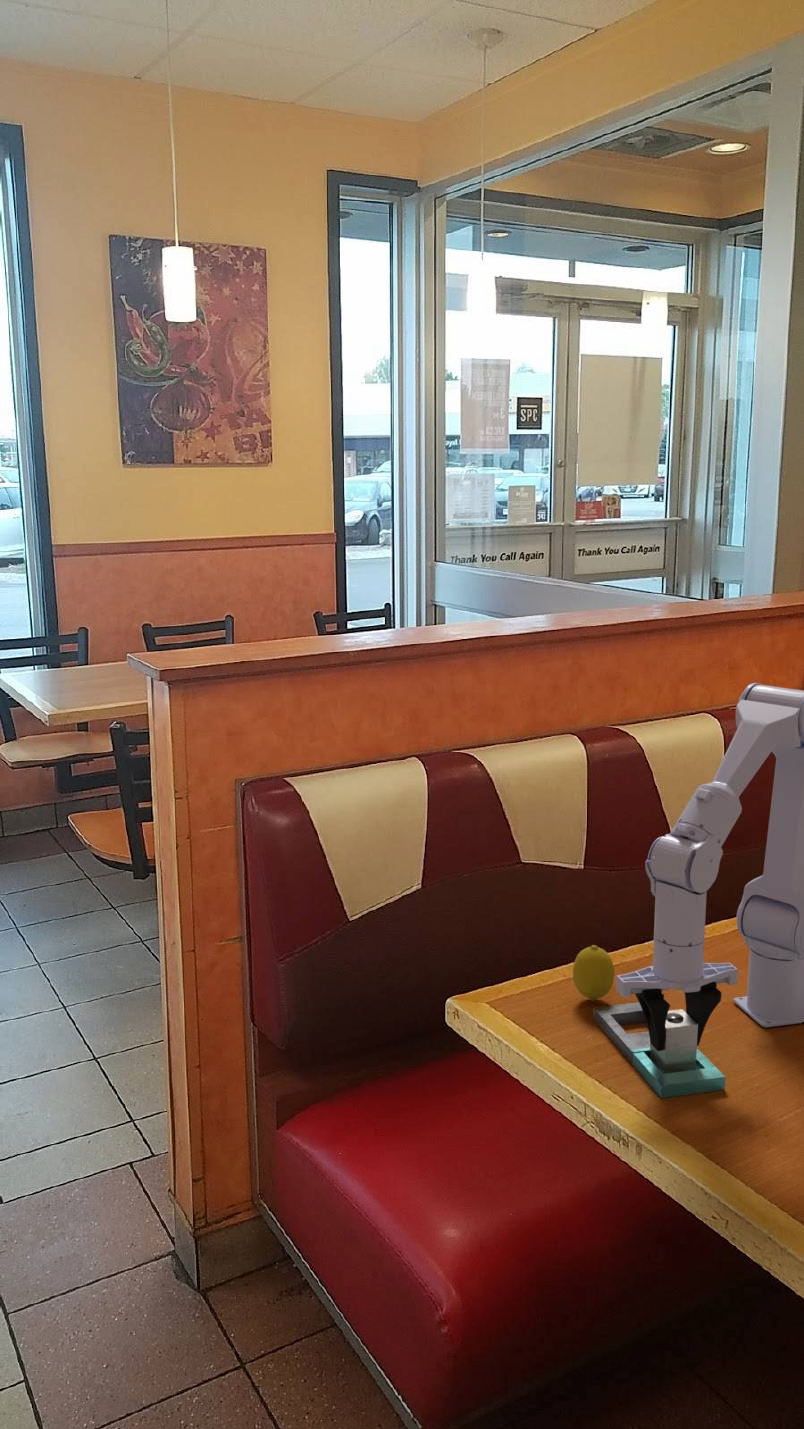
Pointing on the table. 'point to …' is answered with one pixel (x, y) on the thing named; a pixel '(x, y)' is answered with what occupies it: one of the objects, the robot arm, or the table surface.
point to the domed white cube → (677, 1044)
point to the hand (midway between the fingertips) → (674, 1044)
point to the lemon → (593, 972)
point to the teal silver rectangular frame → (639, 1055)
